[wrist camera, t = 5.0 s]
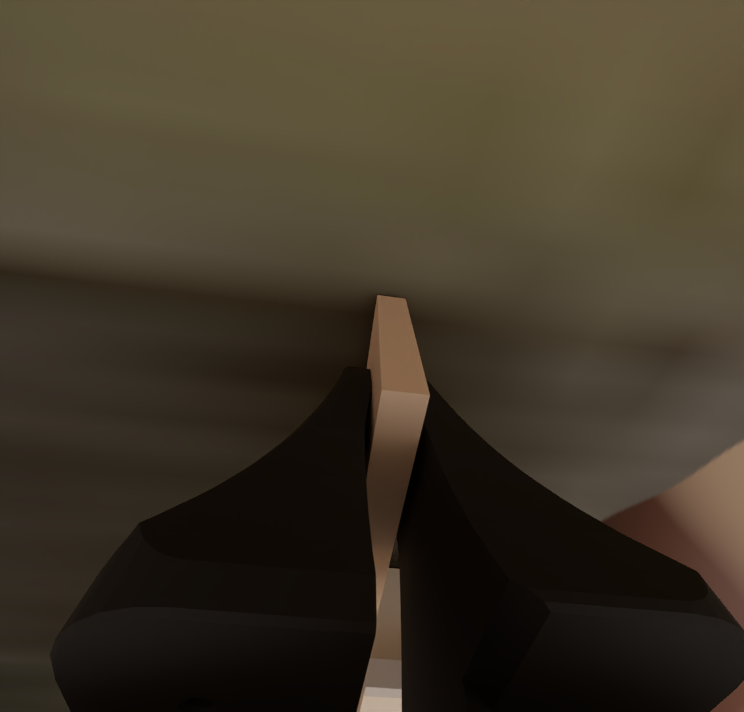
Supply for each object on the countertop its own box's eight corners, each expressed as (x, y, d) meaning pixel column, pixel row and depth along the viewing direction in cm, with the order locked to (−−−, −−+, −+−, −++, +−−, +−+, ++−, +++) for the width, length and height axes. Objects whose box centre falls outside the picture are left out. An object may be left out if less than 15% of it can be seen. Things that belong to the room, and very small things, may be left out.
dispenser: (456, 679, 21) (477, 802, 17) (196, 662, 20) (153, 787, 16) (507, 569, 17) (551, 698, 13) (179, 540, 16) (113, 670, 12)
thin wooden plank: (351, 597, 17) (344, 752, 12) (333, 595, 17) (319, 750, 12) (405, 298, 11) (429, 395, 6) (377, 294, 11) (381, 389, 6)
